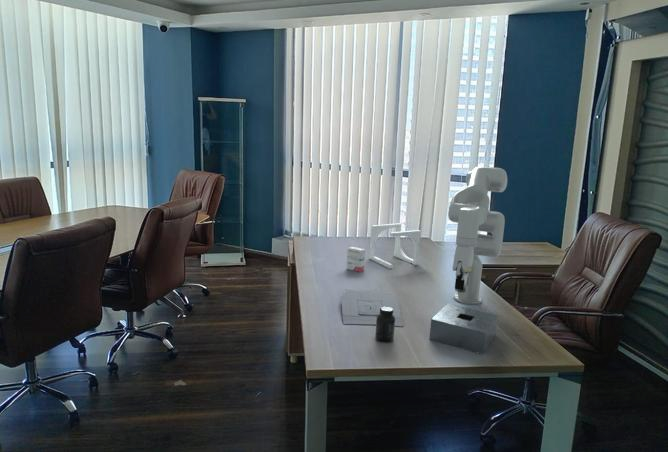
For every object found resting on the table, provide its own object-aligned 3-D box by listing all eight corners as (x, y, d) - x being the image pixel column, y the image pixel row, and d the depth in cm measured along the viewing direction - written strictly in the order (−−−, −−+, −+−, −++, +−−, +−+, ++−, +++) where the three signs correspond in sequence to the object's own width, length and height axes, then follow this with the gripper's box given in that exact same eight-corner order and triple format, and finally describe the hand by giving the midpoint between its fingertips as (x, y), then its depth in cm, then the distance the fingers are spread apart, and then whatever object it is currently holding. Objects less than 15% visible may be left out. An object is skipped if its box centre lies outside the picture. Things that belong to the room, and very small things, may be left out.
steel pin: (455, 286, 192) (458, 263, 190) (470, 290, 189) (473, 266, 186) (450, 290, 187) (452, 266, 184) (465, 294, 184) (468, 270, 181)
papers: (393, 297, 225) (394, 289, 224) (403, 332, 197) (404, 324, 196) (340, 294, 224) (340, 287, 223) (342, 329, 196) (343, 321, 195)
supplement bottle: (392, 335, 188) (394, 305, 185) (394, 343, 181) (397, 312, 179) (374, 334, 188) (376, 304, 185) (376, 342, 181) (378, 311, 178)
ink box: (364, 270, 266) (366, 249, 264) (360, 272, 262) (361, 250, 260) (350, 266, 271) (352, 246, 268) (346, 268, 267) (347, 247, 264)
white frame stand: (417, 264, 282) (421, 230, 278) (389, 268, 272) (392, 233, 268) (396, 255, 299) (399, 223, 295) (369, 258, 289) (371, 225, 285)
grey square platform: (445, 322, 203) (448, 303, 201) (495, 334, 193) (498, 315, 192) (429, 339, 186) (431, 318, 184) (482, 354, 176) (485, 332, 175)
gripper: (463, 235, 192) (458, 280, 196) (449, 243, 178) (443, 291, 182) (482, 238, 188) (477, 284, 192) (469, 247, 174) (463, 296, 178)
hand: (461, 287), depth 187 cm, fingers closed on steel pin, 4 cm apart
